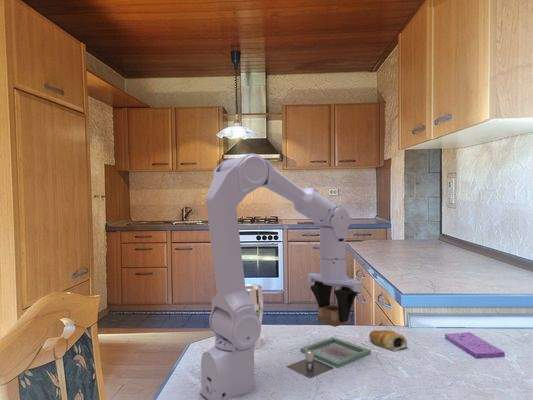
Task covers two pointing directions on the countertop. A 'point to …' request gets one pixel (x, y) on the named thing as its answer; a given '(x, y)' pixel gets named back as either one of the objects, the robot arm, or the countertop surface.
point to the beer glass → (256, 304)
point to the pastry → (388, 340)
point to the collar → (330, 315)
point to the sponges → (474, 345)
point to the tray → (361, 351)
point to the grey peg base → (310, 366)
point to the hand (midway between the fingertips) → (334, 318)
